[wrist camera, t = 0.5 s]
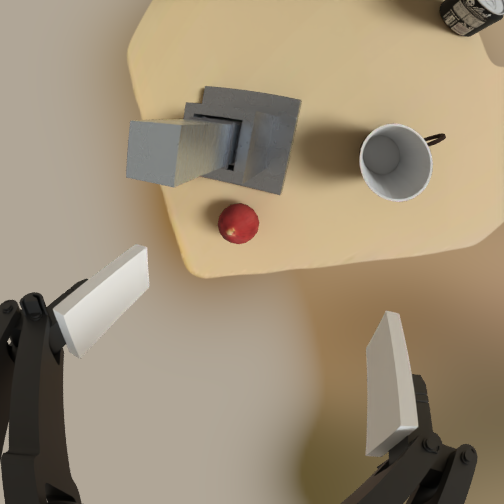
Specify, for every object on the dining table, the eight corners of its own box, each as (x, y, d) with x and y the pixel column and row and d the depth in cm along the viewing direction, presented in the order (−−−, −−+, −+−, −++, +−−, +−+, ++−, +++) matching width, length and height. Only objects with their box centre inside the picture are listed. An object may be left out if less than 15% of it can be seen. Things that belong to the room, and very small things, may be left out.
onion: (241, 239, 46) (224, 261, 39) (221, 210, 44) (200, 227, 37) (270, 222, 43) (258, 242, 36) (249, 191, 42) (232, 205, 35)
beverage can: (465, 7, 18) (497, -18, 8) (478, 40, 21) (515, 23, 10) (432, 0, 20) (458, -31, 10) (445, 34, 23) (478, 10, 12)
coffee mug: (353, 184, 37) (360, 201, 29) (349, 124, 34) (356, 122, 25) (427, 185, 34) (453, 203, 25) (426, 127, 31) (454, 128, 22)
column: (228, 118, 36) (128, 117, 17) (261, 124, 36) (184, 121, 16) (223, 151, 39) (123, 179, 19) (255, 157, 38) (176, 191, 19)
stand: (209, 87, 36) (167, 76, 26) (301, 101, 34) (290, 88, 24) (195, 173, 43) (153, 189, 32) (281, 192, 41) (263, 217, 30)
